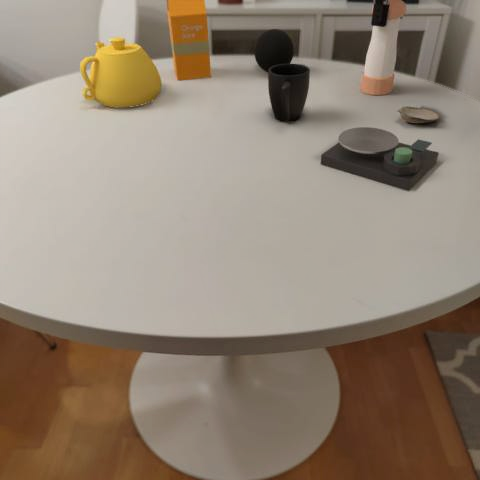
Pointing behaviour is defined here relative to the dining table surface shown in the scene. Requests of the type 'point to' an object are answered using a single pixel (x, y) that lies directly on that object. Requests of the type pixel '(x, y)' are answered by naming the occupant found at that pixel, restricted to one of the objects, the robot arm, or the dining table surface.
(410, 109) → the seashell
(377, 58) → the salt shaker
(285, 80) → the mug
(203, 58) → the orange juice
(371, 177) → the scale
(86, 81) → the teapot
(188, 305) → the dining table surface
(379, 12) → the robot arm
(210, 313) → the dining table surface
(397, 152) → the tare button
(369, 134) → the scale pan
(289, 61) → the decorative ball
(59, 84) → the dining table surface
